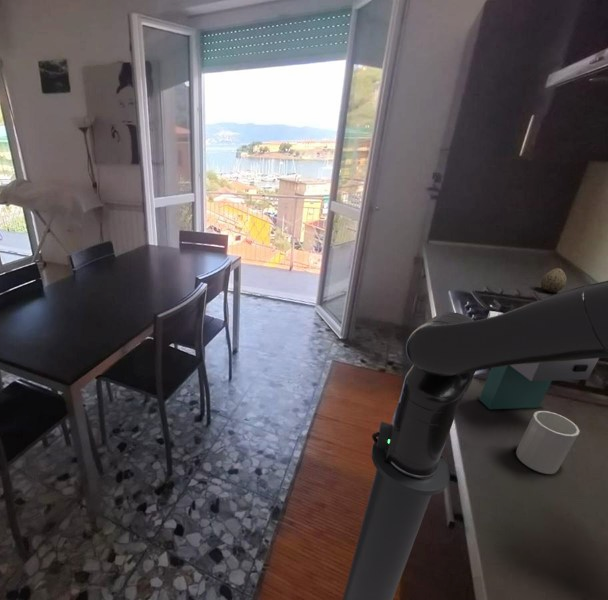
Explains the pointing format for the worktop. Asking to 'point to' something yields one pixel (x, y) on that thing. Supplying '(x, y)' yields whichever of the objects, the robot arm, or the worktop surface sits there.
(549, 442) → the cup
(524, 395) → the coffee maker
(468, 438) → the worktop surface
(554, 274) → the decorative egg
